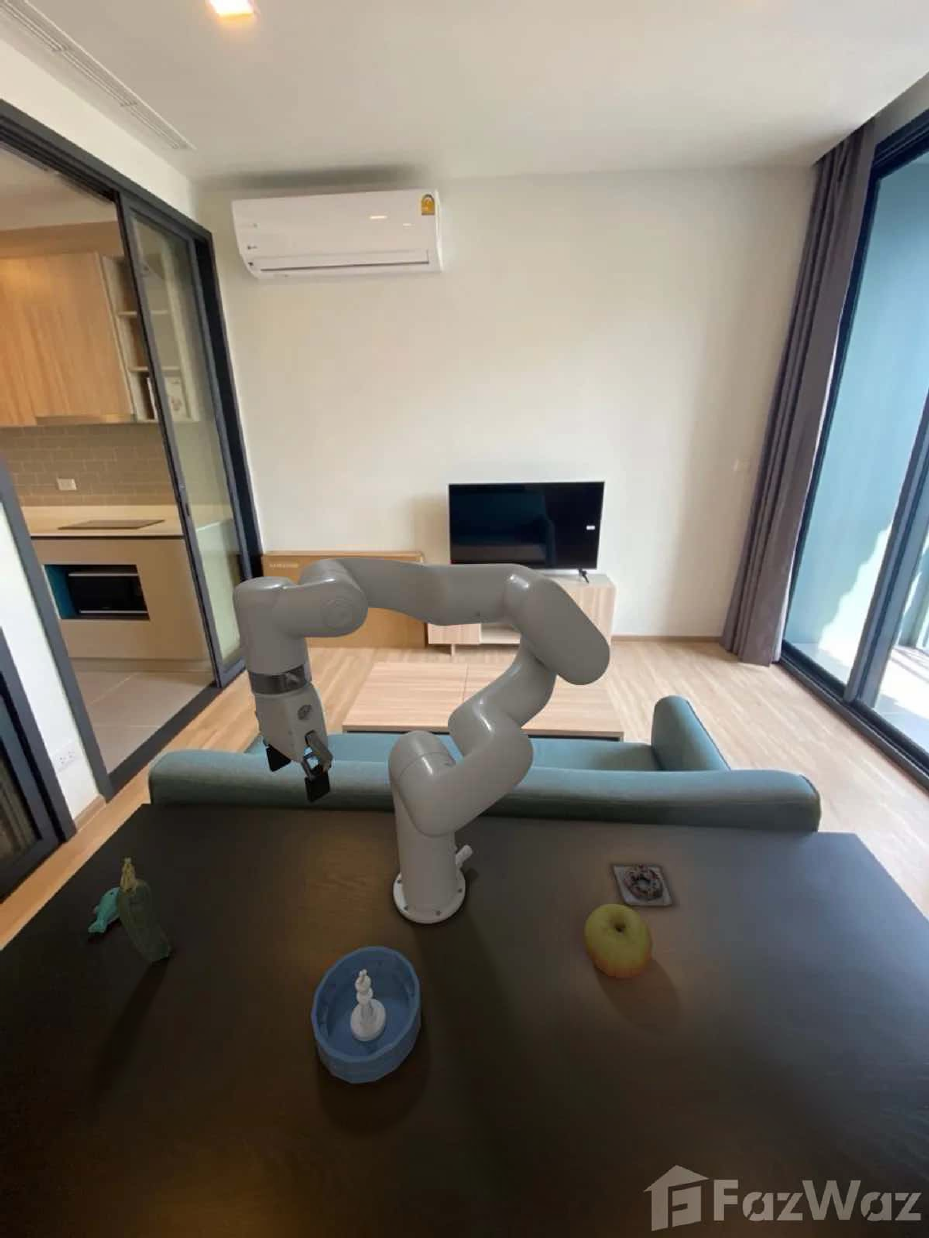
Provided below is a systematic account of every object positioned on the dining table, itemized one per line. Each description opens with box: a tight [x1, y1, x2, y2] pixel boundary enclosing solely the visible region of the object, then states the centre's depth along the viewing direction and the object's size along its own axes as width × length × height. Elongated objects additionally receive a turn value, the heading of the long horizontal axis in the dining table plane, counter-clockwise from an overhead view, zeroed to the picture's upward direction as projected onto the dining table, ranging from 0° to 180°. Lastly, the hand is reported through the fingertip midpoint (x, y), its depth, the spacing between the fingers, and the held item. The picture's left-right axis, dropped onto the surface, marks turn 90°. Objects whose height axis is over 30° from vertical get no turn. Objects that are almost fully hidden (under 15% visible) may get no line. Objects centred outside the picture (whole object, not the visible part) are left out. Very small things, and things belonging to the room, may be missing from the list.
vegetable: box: [115, 857, 171, 963], centre depth 73 cm, size 4×4×20 cm
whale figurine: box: [87, 886, 121, 934], centre depth 84 cm, size 6×7×4 cm
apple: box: [583, 902, 653, 980], centre depth 75 cm, size 10×10×8 cm
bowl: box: [310, 945, 422, 1084], centre depth 68 cm, size 14×14×5 cm
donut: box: [612, 863, 673, 907], centre depth 87 cm, size 8×8×2 cm
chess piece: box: [350, 970, 386, 1041], centre depth 67 cm, size 5×5×10 cm
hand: (299, 780), depth 70 cm, fingers open, 9 cm apart
